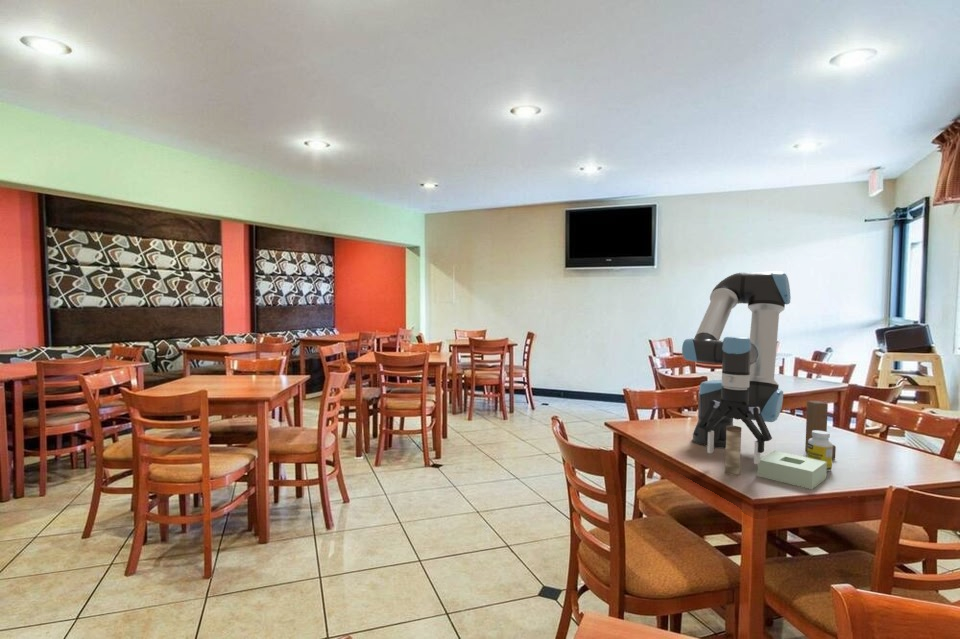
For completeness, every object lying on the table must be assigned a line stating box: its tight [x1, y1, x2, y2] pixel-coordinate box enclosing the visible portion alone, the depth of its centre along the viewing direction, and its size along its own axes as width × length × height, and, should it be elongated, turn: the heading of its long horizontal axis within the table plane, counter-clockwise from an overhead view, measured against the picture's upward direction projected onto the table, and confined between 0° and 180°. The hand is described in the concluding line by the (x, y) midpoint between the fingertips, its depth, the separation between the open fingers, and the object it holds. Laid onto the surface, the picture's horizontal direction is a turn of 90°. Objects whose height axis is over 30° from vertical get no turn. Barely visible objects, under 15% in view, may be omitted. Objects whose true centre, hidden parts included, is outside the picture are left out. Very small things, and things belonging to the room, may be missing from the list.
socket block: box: [757, 450, 827, 490], centre depth 148 cm, size 14×14×5 cm
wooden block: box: [804, 400, 837, 460], centre depth 170 cm, size 9×4×18 cm, turn 0°
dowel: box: [724, 425, 742, 476], centre depth 150 cm, size 4×4×14 cm
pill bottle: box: [806, 430, 834, 472], centre depth 156 cm, size 6×6×12 cm
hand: (732, 457), depth 151 cm, fingers open, 13 cm apart
